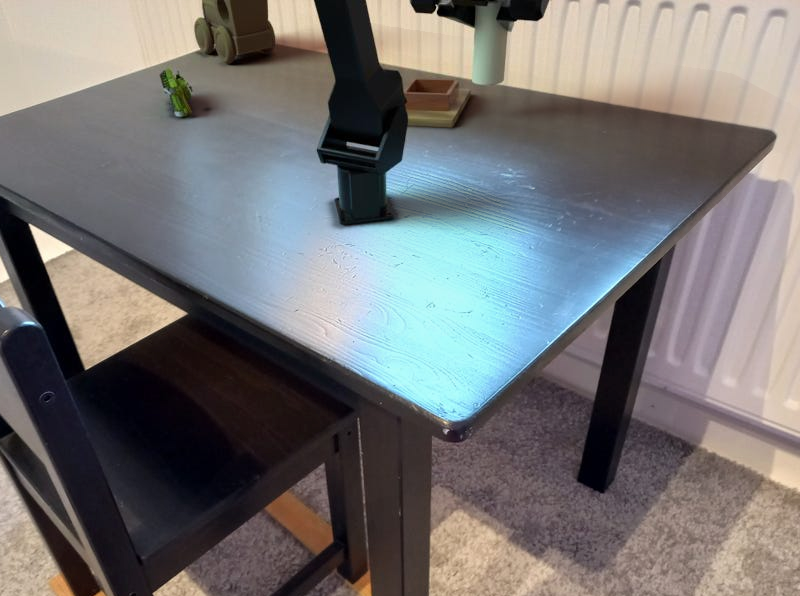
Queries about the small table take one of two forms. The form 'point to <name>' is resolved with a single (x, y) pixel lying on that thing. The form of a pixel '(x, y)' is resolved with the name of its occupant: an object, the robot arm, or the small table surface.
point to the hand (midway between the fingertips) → (495, 27)
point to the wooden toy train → (234, 28)
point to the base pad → (434, 102)
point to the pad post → (488, 46)
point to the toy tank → (176, 92)
